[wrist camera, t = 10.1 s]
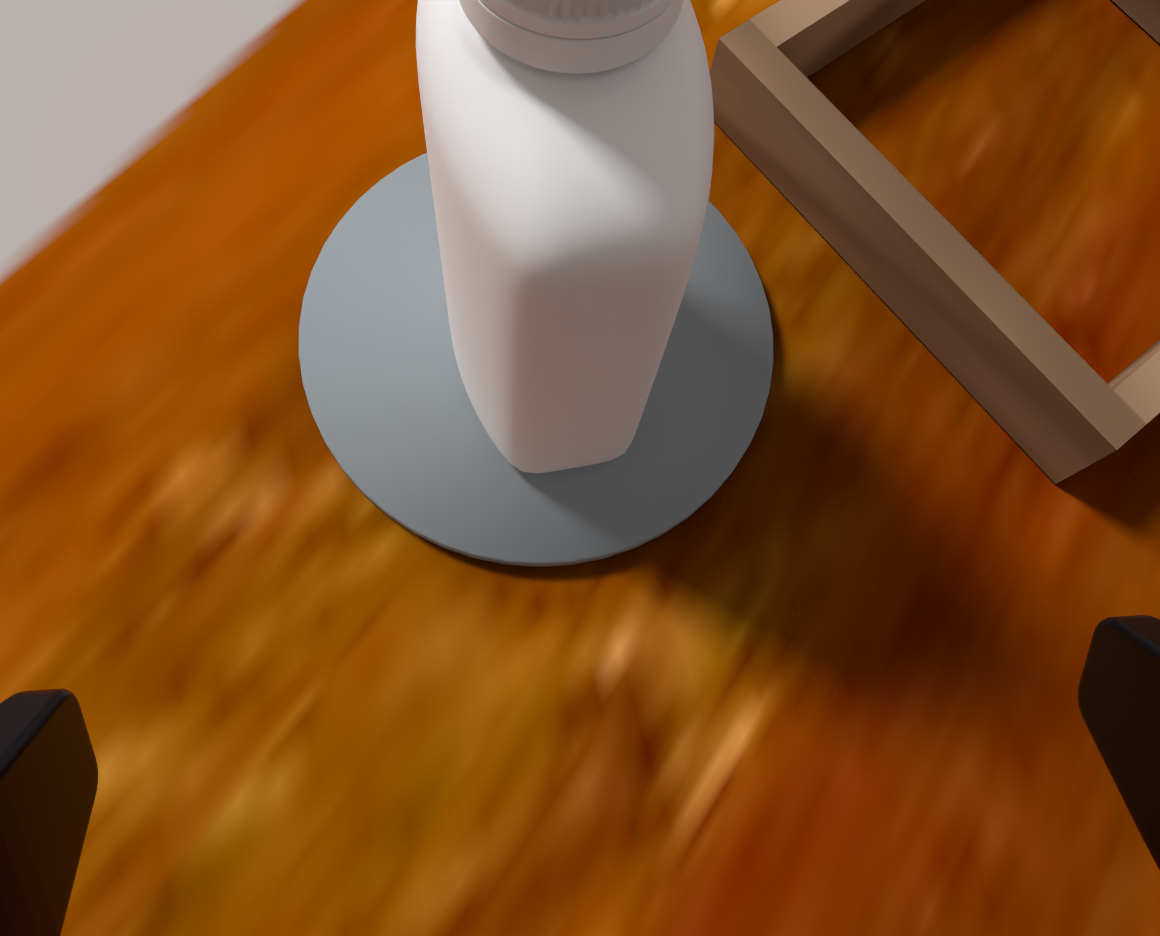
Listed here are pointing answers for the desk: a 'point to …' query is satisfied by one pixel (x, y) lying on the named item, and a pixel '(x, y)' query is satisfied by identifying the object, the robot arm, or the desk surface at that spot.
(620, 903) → the desk surface
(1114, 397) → the walnut collar
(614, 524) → the rubber coaster
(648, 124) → the eye dropper bottle
